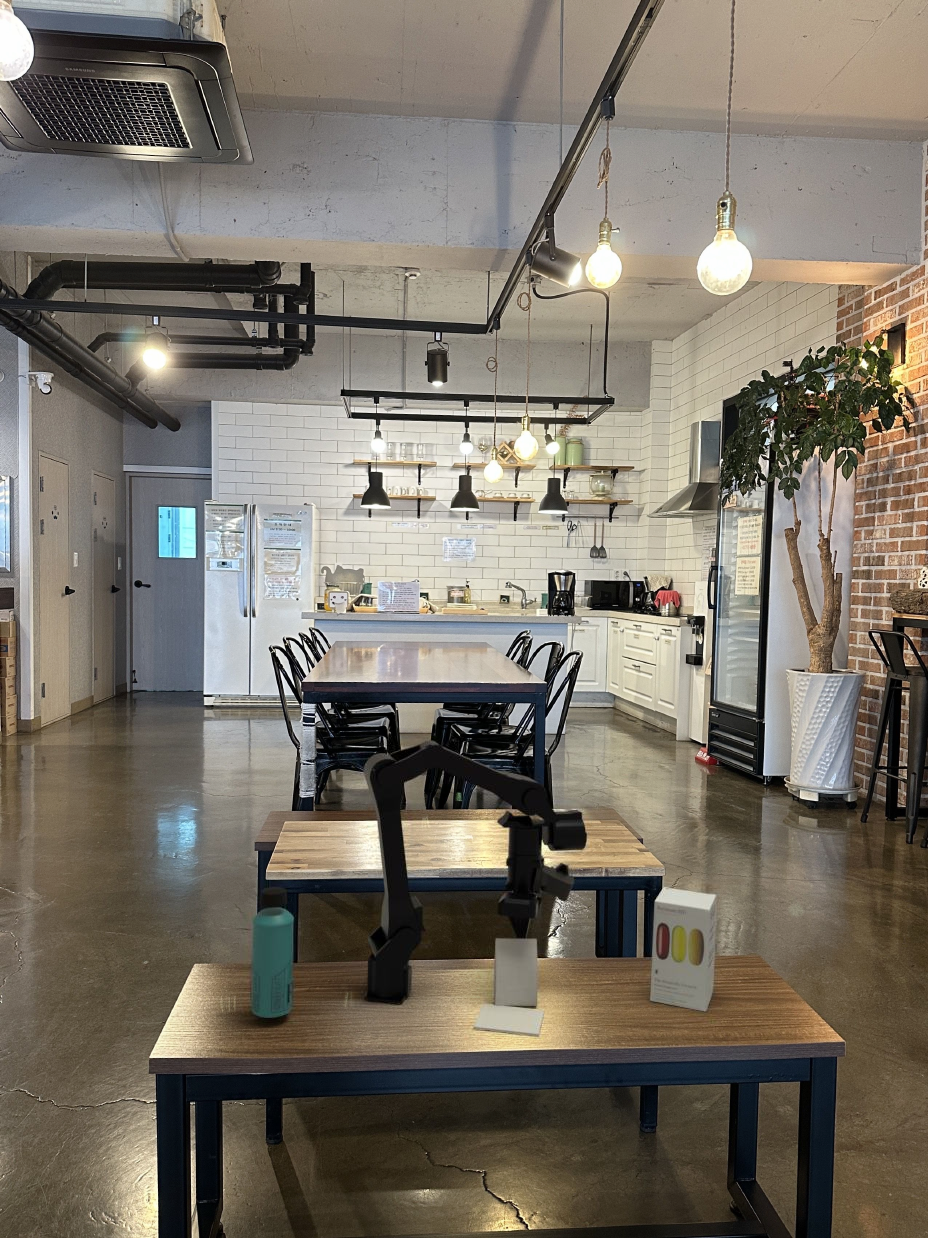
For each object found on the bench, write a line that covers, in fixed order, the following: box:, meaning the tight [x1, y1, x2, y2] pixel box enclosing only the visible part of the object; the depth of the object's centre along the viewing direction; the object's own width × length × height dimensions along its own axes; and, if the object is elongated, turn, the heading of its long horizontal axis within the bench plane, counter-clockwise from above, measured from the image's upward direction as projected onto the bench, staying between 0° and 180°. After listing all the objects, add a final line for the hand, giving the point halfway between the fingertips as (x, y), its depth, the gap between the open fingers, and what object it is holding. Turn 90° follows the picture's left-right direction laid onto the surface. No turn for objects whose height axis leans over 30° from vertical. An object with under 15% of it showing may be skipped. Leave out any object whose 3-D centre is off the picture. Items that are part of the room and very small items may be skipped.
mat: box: [472, 1003, 545, 1037], centre depth 142 cm, size 10×8×1 cm
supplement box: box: [649, 886, 718, 1012], centre depth 154 cm, size 10×9×17 cm
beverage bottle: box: [249, 886, 295, 1018], centre depth 141 cm, size 6×7×20 cm
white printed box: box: [493, 937, 539, 1007], centre depth 149 cm, size 4×7×10 cm, turn 93°
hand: (521, 942), depth 157 cm, fingers closed
